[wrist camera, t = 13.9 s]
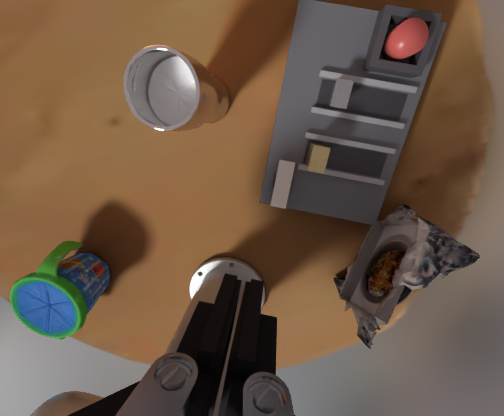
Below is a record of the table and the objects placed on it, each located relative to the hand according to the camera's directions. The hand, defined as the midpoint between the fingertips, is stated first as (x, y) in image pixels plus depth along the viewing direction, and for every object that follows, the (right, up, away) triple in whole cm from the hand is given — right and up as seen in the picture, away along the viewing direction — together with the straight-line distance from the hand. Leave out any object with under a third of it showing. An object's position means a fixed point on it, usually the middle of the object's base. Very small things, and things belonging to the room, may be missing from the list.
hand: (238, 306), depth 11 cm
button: (+16, +22, +18) cm, 33 cm away
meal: (+19, -1, +30) cm, 35 cm away
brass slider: (+8, +11, +23) cm, 27 cm away
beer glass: (-5, +19, +25) cm, 32 cm away
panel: (+12, +15, +24) cm, 31 cm away
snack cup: (-27, -7, +36) cm, 46 cm away
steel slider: (+11, +17, +21) cm, 29 cm away
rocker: (+4, +7, +24) cm, 25 cm away
